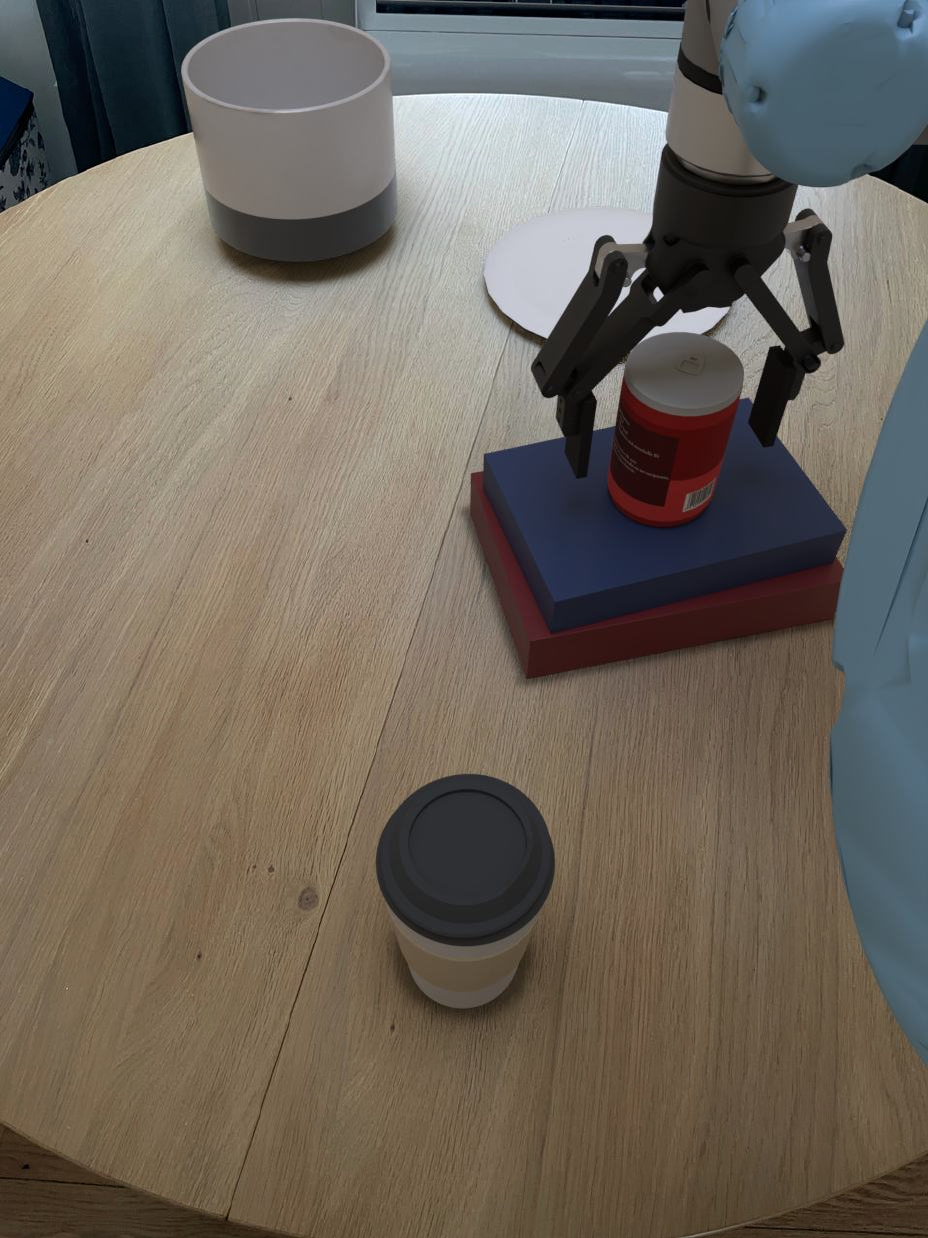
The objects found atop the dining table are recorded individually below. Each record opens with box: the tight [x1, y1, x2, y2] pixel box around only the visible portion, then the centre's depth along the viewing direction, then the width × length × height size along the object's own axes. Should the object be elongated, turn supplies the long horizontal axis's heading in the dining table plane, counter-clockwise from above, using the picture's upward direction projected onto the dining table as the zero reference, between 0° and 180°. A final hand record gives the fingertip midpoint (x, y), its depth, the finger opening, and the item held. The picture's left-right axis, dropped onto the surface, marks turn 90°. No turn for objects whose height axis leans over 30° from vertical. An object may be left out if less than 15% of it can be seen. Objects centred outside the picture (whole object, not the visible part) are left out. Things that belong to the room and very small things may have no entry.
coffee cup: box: [375, 773, 556, 1010], centre depth 56 cm, size 9×9×15 cm
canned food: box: [607, 332, 745, 527], centre depth 71 cm, size 8×8×11 cm
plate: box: [483, 205, 731, 355], centre depth 104 cm, size 25×25×2 cm
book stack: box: [469, 397, 848, 680], centre depth 78 cm, size 17×24×8 cm
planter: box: [180, 17, 398, 263], centre depth 103 cm, size 19×19×18 cm
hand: (669, 449), depth 72 cm, fingers open, 13 cm apart
